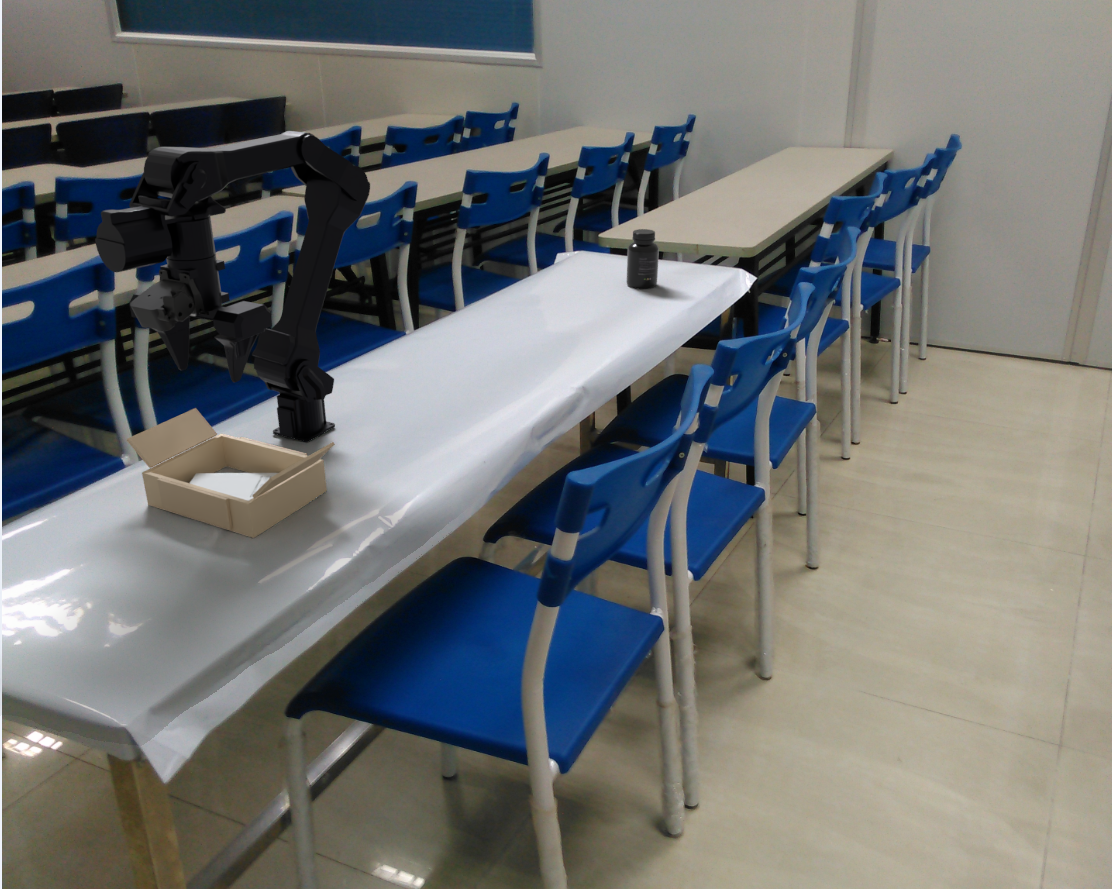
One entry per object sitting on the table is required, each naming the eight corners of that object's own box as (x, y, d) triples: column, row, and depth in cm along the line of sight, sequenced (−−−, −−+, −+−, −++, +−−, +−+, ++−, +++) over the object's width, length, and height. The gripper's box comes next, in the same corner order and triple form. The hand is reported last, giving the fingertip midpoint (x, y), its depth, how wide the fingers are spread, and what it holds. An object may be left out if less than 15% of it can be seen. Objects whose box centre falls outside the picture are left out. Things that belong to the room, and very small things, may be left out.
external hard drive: (198, 483, 124) (295, 481, 124) (178, 514, 117) (281, 512, 117) (196, 471, 123) (293, 470, 124) (176, 502, 116) (279, 500, 116)
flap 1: (151, 466, 117) (149, 468, 118) (217, 434, 126) (216, 435, 126) (127, 438, 117) (126, 440, 118) (195, 407, 126) (194, 409, 126)
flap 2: (314, 459, 120) (316, 461, 120) (252, 495, 111) (254, 498, 111) (333, 441, 117) (335, 444, 117) (270, 477, 108) (272, 480, 108)
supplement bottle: (621, 282, 215) (623, 228, 209) (649, 280, 216) (652, 227, 211) (633, 290, 209) (635, 235, 204) (661, 288, 210) (664, 233, 205)
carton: (228, 462, 130) (224, 432, 128) (329, 490, 123) (325, 458, 121) (145, 506, 118) (138, 474, 116) (250, 539, 111) (245, 505, 109)
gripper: (82, 260, 114) (106, 382, 121) (197, 280, 106) (216, 410, 113) (156, 241, 123) (175, 356, 130) (267, 259, 115) (281, 380, 122)
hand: (209, 375), depth 123 cm, fingers open, 9 cm apart
